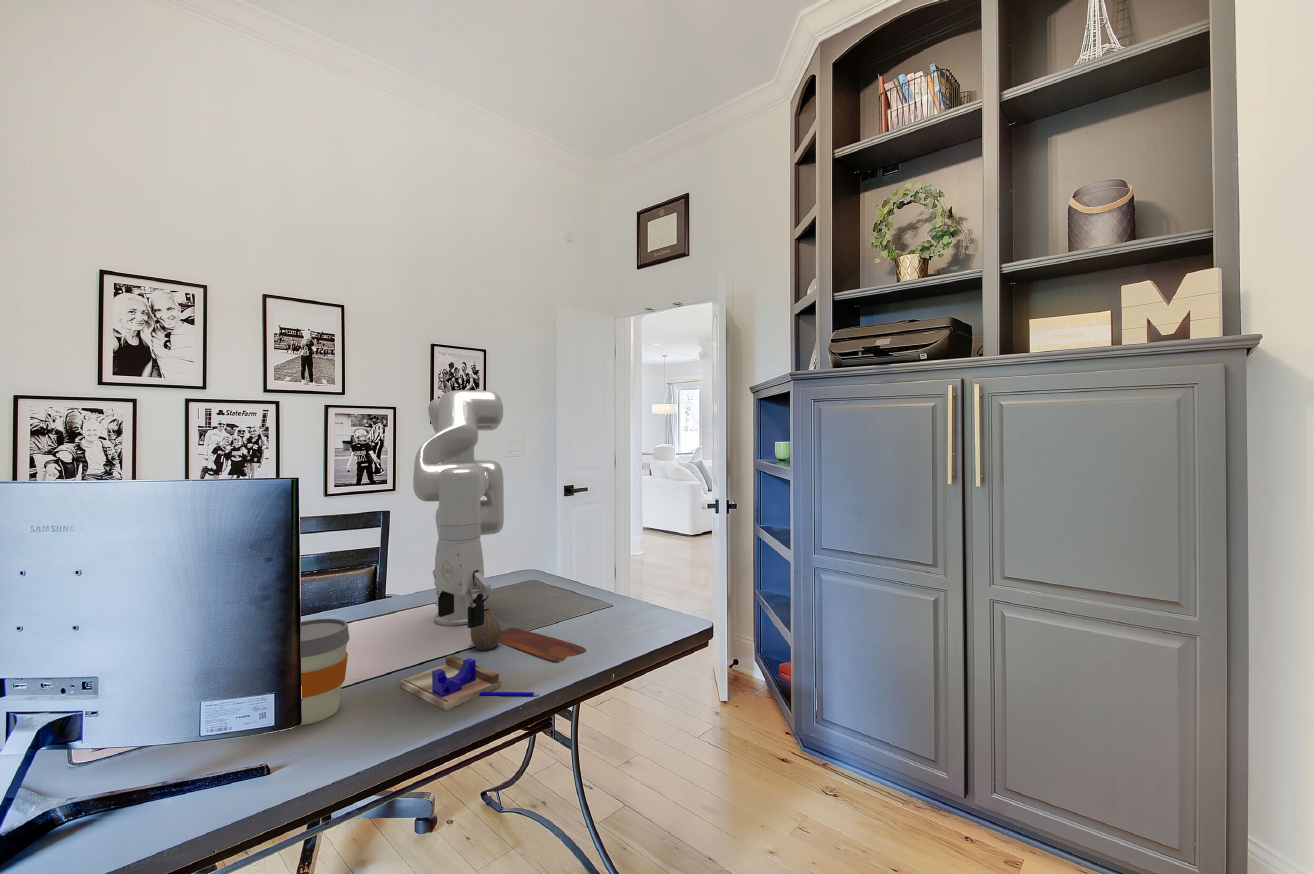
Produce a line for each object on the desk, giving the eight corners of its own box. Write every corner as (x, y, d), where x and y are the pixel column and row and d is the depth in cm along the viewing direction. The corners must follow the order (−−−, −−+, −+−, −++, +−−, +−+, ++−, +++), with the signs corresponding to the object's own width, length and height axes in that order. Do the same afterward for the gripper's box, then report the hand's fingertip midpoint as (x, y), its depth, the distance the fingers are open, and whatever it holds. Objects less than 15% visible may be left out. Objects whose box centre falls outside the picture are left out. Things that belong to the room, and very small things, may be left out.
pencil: (450, 697, 108) (450, 692, 108) (452, 695, 109) (452, 690, 109) (538, 698, 108) (538, 693, 108) (539, 696, 109) (539, 691, 109)
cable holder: (442, 697, 105) (441, 675, 105) (432, 691, 107) (432, 670, 107) (480, 682, 111) (479, 662, 111) (470, 677, 113) (469, 657, 113)
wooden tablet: (589, 652, 131) (589, 645, 131) (556, 667, 123) (556, 659, 123) (515, 628, 147) (515, 621, 147) (482, 639, 139) (482, 632, 139)
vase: (507, 646, 133) (506, 609, 133) (480, 655, 128) (479, 616, 128) (491, 639, 138) (491, 603, 138) (464, 647, 133) (464, 609, 133)
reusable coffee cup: (352, 717, 100) (351, 633, 100) (266, 738, 94) (265, 647, 93) (347, 690, 111) (346, 613, 111) (269, 707, 104) (268, 625, 104)
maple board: (399, 686, 112) (399, 673, 112) (454, 666, 122) (453, 653, 122) (445, 710, 103) (445, 695, 103) (500, 686, 112) (500, 673, 112)
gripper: (417, 529, 111) (418, 616, 112) (469, 541, 101) (470, 636, 101) (451, 523, 117) (452, 606, 118) (504, 534, 107) (505, 624, 107)
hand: (460, 620), depth 109 cm, fingers open, 9 cm apart
